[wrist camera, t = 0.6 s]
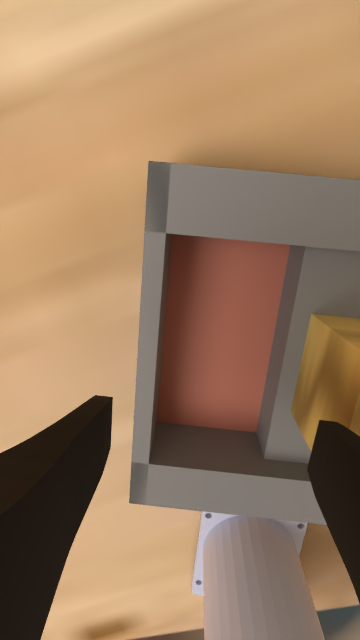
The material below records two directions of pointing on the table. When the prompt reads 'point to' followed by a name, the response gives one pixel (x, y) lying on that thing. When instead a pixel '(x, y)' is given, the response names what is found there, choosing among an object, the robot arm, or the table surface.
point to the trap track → (235, 333)
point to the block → (329, 376)
